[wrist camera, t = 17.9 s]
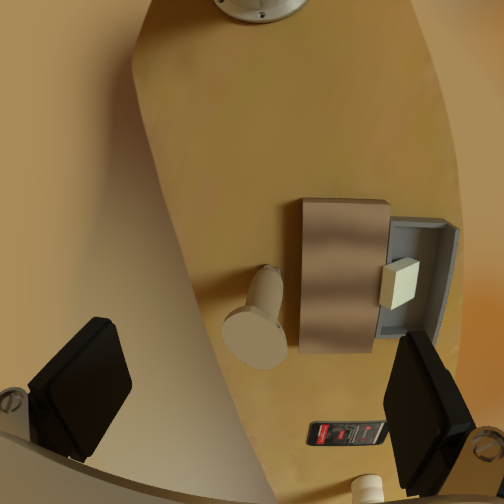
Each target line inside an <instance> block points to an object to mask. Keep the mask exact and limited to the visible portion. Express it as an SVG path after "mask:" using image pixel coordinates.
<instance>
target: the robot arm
mask: <svg viewBox="0 0 504 504" xmlns="http://www.w3.org/2000/svg"><path fill="white" fill-rule="evenodd" d="M213 1H214V2H215V4H216V5H217V6H218V7H219V8H220V9H221V10H222V11H223V12H224V13H226V14H227V15H229V16H231V17H233V18H235V19H238V20H241V21H245V22H252V23H267V22H273V21H278V20H281V19H284V18H286V17H288V16H290V15H292V14H294V13H295V12H297V11H298V10H300V9H301V8H302V7H303V6H304V5H305V4H306V2H307V1H308V0H213ZM222 1H224V2H222ZM221 2H222V3H221ZM261 16H264V18H260V17H261ZM28 387H29V389H30V393H29V394H27V393H26V391H25V390H24V389H22V388H19V387H10V388H8V389H5V390H3V391H1V392H0V504H254V503H244V502H235V501H227V500H220V499H213V498H207V497H201V496H195V495H190V494H185V493H180V492H175V491H171V490H166V489H162V488H158V487H154V486H150V485H146V484H143V483H139V482H135V481H132V480H129V479H125V478H122V477H119V476H115V475H112V474H109V473H106V472H103V471H100V470H98V469H95V468H92V467H89V466H87V465H84V464H81V463H84V462H85V460H86V458H87V457H90V456H91V455H92V454H93V452H94V451H95V449H96V447H97V446H98V444H99V442H100V441H101V439H102V437H103V436H104V434H105V432H106V431H107V429H108V427H109V426H110V424H111V422H112V421H113V419H114V418H115V416H116V414H117V413H118V411H119V409H120V408H121V406H122V404H123V403H124V401H125V399H126V398H127V396H128V395H129V393H130V391H131V389H132V380H131V377H130V374H129V371H128V368H127V364H126V362H125V358H124V354H123V351H122V348H121V344H120V340H119V337H118V333H117V329H116V326H115V324H113V323H112V321H111V320H110V319H108V318H101V317H94V318H92V319H91V320H90V321H89V322H88V323H87V324H86V325H85V326H84V327H83V328H82V329H81V330H80V331H79V332H78V333H77V334H76V335H75V336H74V337H73V338H72V339H71V340H70V341H69V342H68V343H67V344H66V345H65V346H64V347H63V348H62V349H61V350H60V351H59V352H58V353H57V354H56V355H55V356H54V357H53V358H52V359H51V360H50V361H49V362H48V363H47V364H46V366H45V367H44V368H43V369H42V370H41V371H40V372H39V373H38V374H37V375H36V376H35V377H34V378H33V379H32V380H31V381H30V383H28ZM383 406H384V411H385V415H386V420H387V424H388V428H389V433H390V438H391V442H392V447H393V452H394V457H395V462H396V467H397V472H398V478H399V483H400V487H401V488H402V489H405V488H406V494H407V497H410V496H415V495H419V497H420V498H413V499H404V500H397V501H389V502H380V503H369V504H504V432H503V431H502V430H500V429H498V428H496V427H492V426H482V427H479V428H477V427H476V425H475V423H474V421H473V419H472V416H471V414H470V412H469V410H468V408H467V406H466V404H465V402H464V400H463V397H462V395H461V393H460V391H459V389H458V387H457V385H456V384H455V381H454V379H453V377H452V375H451V374H450V372H449V371H448V370H447V369H445V367H444V365H443V363H442V361H441V359H440V357H439V355H438V353H437V352H436V350H435V348H434V346H433V344H432V342H431V341H430V339H429V337H428V335H427V333H426V332H425V331H423V330H421V331H408V332H406V334H405V336H401V337H400V340H399V344H398V348H397V352H396V356H395V360H394V364H393V368H392V372H391V375H390V379H389V382H388V386H387V389H386V392H385V396H384V401H383ZM68 456H70V458H71V459H74V460H76V461H79V462H81V463H79V462H76V461H74V460H71V459H69V458H68Z"/></svg>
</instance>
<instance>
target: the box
mask: <svg viewBox="0 0 504 504" xmlns="http://www.w3.org/2000/svg"><path fill="white" fill-rule="evenodd" d="M459 233H460V229H459V228H457V227H456V226H454V225H452V224H451V223H449V222H448V221H446V220H444V219H440V218H420V217H396V216H390V224H389V235H388V246H387V255H386V264H385V266H386V265H388V264H391V263H393V262H396V261H398V260H401V259H403V258H406V257H409V258H412V259H414V260H417V261H420V263H419V270H418V277H417V284H416V290H415V296H414V298H412V299H411V300H409V301H407V302H405V303H403V304H401V305H400V306H398V307H396V308H394V309H392V310H390V309H388V308H386V307H384V306H382V305H380V307H379V314H378V320H377V325H376V331H375V336H374V337H375V339H387V338H400V337H401V336H405V334H406V332H408V331H421V330H423V331H425V332H426V333H427V335H428V337H429V339H430V341H431V342H432V344H433V346H434V347H435V344H436V341H437V337H438V334H439V330H440V326H441V323H442V319H443V315H444V311H445V307H446V303H447V298H448V294H449V289H450V285H451V280H452V275H453V270H454V264H455V258H456V253H457V246H458V240H459Z"/></svg>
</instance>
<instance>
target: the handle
mask: <svg viewBox="0 0 504 504" xmlns="http://www.w3.org/2000/svg"><path fill="white" fill-rule="evenodd" d="M282 297H283V282H282V278H281V272H280V269H279V268H274V267H272V266H270V265H269V264H266V265H265V266H264V267H263V268H261V269H258V271H257V272H256V274H255V276H254V278H253V279H252V281H251V283H250V286H249V289H248V293H247V298H246V303H245V306H242V307H239V308H237V309H235V310H233V311H232V312H231V313H229V315H228V316H227V317H226V318H225V320H224V322H223V325H222V327H221V332H222V335H223V338H224V341H225V344H226V346H227V347H228V349H229V350H230V351H231V352H232V353H233V354H234V355H235V356H236V357H237V358H238V359H239V360H240V361H241V362H243V363H245V364H247V365H249V366H251V367H253V368H256V369H258V370H266V369H270V368H273V367H275V366H277V365H279V364H281V363H282V362H283V361H284V360H285V358H286V357H287V355H288V346H287V341H286V336H285V333H284V330H283V329H282V327H281V325H280V323H279V322H278V320H277V319H278V314H279V310H280V306H281V302H282Z"/></svg>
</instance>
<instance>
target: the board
mask: <svg viewBox="0 0 504 504" xmlns="http://www.w3.org/2000/svg"><path fill="white" fill-rule="evenodd" d="M390 210H391V204H389V203H388V202H386V201H385V200H375V199H346V198H302V268H301V300H300V323H299V349H298V353H311V354H346V353H371V352H372V347H373V342H374V336H375V331H376V325H377V320H378V314H379V307H380V304H379V300H380V292H381V284H382V275H383V266H385V264H386V255H387V246H388V235H389V224H390Z"/></svg>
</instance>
